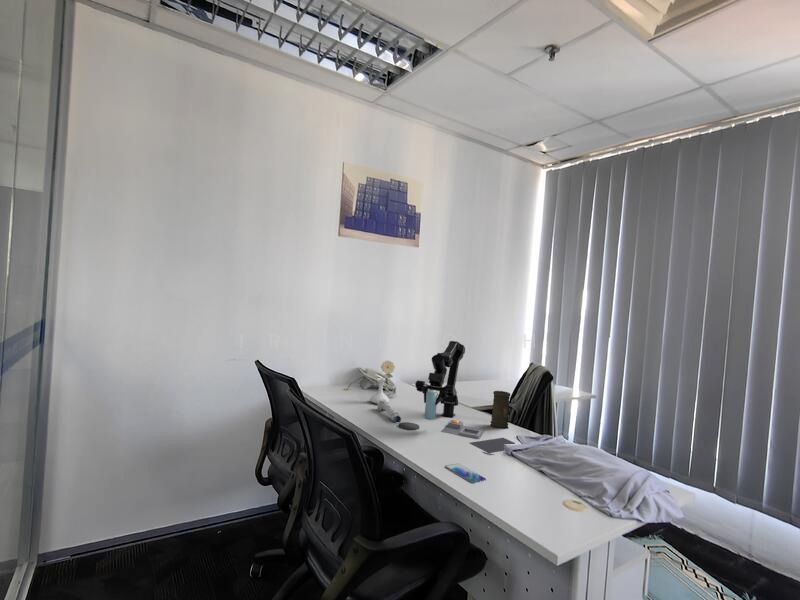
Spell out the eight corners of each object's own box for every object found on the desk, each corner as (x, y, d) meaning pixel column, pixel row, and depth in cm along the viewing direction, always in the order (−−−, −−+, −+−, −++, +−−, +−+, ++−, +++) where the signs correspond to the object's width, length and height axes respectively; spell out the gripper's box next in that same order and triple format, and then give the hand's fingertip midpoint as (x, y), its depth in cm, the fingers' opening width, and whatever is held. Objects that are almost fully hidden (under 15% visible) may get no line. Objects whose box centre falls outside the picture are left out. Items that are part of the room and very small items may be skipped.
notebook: (503, 440, 193) (467, 446, 181) (503, 437, 193) (468, 442, 181) (524, 450, 182) (488, 457, 171) (524, 447, 182) (488, 453, 171)
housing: (449, 425, 209) (449, 419, 209) (485, 432, 202) (485, 425, 202) (440, 433, 194) (440, 427, 194) (479, 441, 187) (479, 434, 187)
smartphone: (458, 463, 159) (487, 479, 147) (458, 465, 159) (487, 481, 147) (444, 465, 155) (472, 482, 143) (443, 467, 155) (471, 484, 143)
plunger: (453, 424, 206) (453, 419, 206) (459, 425, 205) (459, 420, 205) (451, 426, 203) (451, 421, 203) (457, 427, 202) (458, 422, 202)
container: (488, 428, 208) (491, 392, 208) (491, 424, 216) (494, 389, 216) (506, 432, 205) (509, 395, 205) (509, 427, 213) (512, 392, 213)
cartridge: (430, 416, 199) (433, 388, 199) (437, 419, 195) (440, 391, 195) (422, 417, 196) (424, 389, 196) (429, 420, 192) (431, 392, 192)
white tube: (393, 415, 204) (376, 396, 227) (391, 428, 205) (375, 407, 228) (402, 415, 206) (385, 396, 229) (401, 428, 207) (384, 407, 230)
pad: (402, 422, 207) (402, 421, 207) (422, 426, 203) (422, 424, 203) (395, 427, 198) (395, 426, 198) (415, 431, 194) (415, 430, 194)
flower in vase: (367, 404, 236) (371, 360, 236) (372, 399, 248) (375, 357, 247) (390, 406, 234) (393, 362, 234) (393, 402, 245) (397, 359, 245)
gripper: (418, 363, 202) (408, 390, 192) (455, 369, 195) (447, 397, 185) (422, 377, 210) (412, 403, 200) (458, 383, 203) (450, 410, 193)
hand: (430, 403), depth 194 cm, fingers closed on cartridge, 5 cm apart
